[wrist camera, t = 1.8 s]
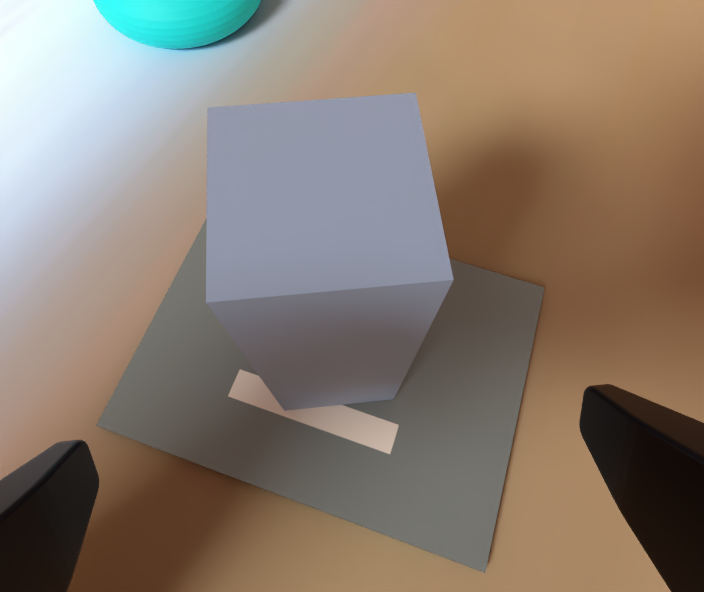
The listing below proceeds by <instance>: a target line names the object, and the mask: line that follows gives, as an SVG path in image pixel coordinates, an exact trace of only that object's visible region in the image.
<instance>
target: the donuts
mask: <svg viewBox="0 0 704 592" xmlns="http://www.w3.org/2000/svg"><path fill="white" fill-rule="evenodd" d="M93 1H94V3H95V5H96V6H97V8H98V10H99V12H100V13H101V14H102V16H103V17H104V18H105V19H106V20H107V21H108V22H109V24H110V25H112V26H113V27H114V28H115V29H116V30H118V31H119V32H121V33H122V34H124V35H125V36H127V37H129V38H131V39H133V40H135V41H137V42H140V43H143V44H146V45H150V46H154V47H160V48H169V49H183V48H193V47H199V46H203V45H207V44H210V43H213V42H216V41H218V40H221V39H223V38H225V37H227V36H228V35H230V34H232V33H233V32H235V31H236V30H238V29H239V28H240V27H241V26H243V25H244V24H245V23H246V22H247V21H248V20H249V19H250V18H251V17H252V15H253V14H254V13H255V11H256V10H257V8H258V6H259V4H260V2H261V0H93Z"/></svg>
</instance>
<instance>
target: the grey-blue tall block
mask: <svg viewBox="0 0 704 592" xmlns="http://www.w3.org/2000/svg"><path fill="white" fill-rule="evenodd" d="M453 280H454V279H453V274H452V269H451V265H450V260H449V255H448V250H447V245H446V240H445V235H444V230H443V225H442V220H441V215H440V210H439V205H438V200H437V195H436V191H435V186H434V181H433V176H432V171H431V166H430V161H429V156H428V151H427V146H426V141H425V136H424V131H423V126H422V121H421V117H420V112H419V107H418V102H417V97H416V93H406V94H392V95H378V96H364V97H350V98H336V99H322V100H308V101H294V102H280V103H266V104H252V105H238V106H224V107H210V108H208V124H207V233H206V304H207V305H208V306H209V308H210V309H211V310H212V312H213V313H214V315H215V316H216V317H217V319H218V320H219V321H220V323H221V324H222V326H223V327H224V328H225V330H226V331H227V333H228V334H229V335H230V337H231V338H232V339H233V341H234V342H235V344H236V345H237V346H238V348H239V349H240V350H241V352H242V353H243V355H244V356H245V357H246V359H247V360H248V361H249V363H250V364H251V366H252V367H253V368H254V370H255V371H256V373H257V374H258V375H259V377H260V378H261V379H262V381H263V382H264V384H265V385H266V386H267V388H268V389H269V390H270V392H271V393H272V395H273V396H274V397H275V399H276V400H277V401H278V403H279V404H280V406H281V407H282V408H283V410H284V411H287V410H297V409H306V408H316V407H325V406H335V405H344V404H354V403H364V402H373V401H383V400H392V399H394V397H395V395H396V393H397V391H398V390H399V388H400V386H401V384H402V382H403V380H404V378H405V376H406V374H407V372H408V370H409V368H410V366H411V364H412V362H413V360H414V358H415V356H416V354H417V352H418V350H419V348H420V346H421V344H422V342H423V340H424V338H425V336H426V334H427V332H428V330H429V328H430V326H431V324H432V322H433V320H434V318H435V316H436V314H437V312H438V310H439V308H440V306H441V304H442V302H443V300H444V298H445V296H446V294H447V292H448V290H449V288H450V286H451V284H452V282H453Z"/></svg>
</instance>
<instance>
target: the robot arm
mask: <svg viewBox="0 0 704 592" xmlns="http://www.w3.org/2000/svg"><path fill="white" fill-rule="evenodd" d="M580 431H581V434H582V437H583V439H584V441H585V443H586V445H587V447H588V449H589V451H590V453H591V455H592V457H593V459H594V461H595V463H596V465H597V467H598V469H599V471H600V473H601V475H602V477H603V479H604V481H605V483H606V485H607V487H608V489H609V491H610V493H611V495H612V497H613V499H614V500H615V502H616V504H617V506H618V508H619V510H620V511H621V513H622V515H623V516H624V518H625V520H626V521H627V523H628V525H629V526H630V528H631V529H632V531H633V532H634V534H635V536H636V537H637V539H638V540H639V542H640V543H641V545H642V547H643V548H644V550H645V551H646V553H647V554H648V556H649V558H650V559H651V561H652V562H653V564H654V565H655V567H656V569H657V570H658V572H659V573H660V575H661V576H662V578H663V580H664V581H665V583H666V584H667V586H668V587H669V589H670V591H671V592H704V423H702V422H700V421H697V420H695V419H693V418H690V417H688V416H685V415H683V414H681V413H678V412H676V411H673V410H671V409H669V408H666V407H664V406H661V405H659V404H657V403H654V402H652V401H649V400H647V399H645V398H642V397H640V396H637V395H635V394H633V393H630V392H628V391H625V390H623V389H620V388H618V387H616V386H613V385H610V384H604V385H594V386H589V387H587V388H586V389H585V391H584V395H583V402H582V409H581V416H580ZM98 488H99V477H98V473H97V470H96V467H95V464H94V461H93V459H92V456H91V453H90V450H89V447H88V445H87V444H86V442H85V441H82V440H72V441H63V442H58V443H56V444H54V445H53V446H51V447H50V448H48V449H47V450H45V451H44V452H42V453H41V454H39V455H38V456H36V457H35V458H33V459H32V460H30V461H29V462H27V463H26V464H24V465H22V466H21V467H19V468H18V469H16V470H15V471H13V472H12V473H10V474H9V475H7V476H6V477H4V478H3V479H1V480H0V592H67V590H68V587H69V585H70V582H71V579H72V577H73V574H74V571H75V567H76V564H77V561H78V558H79V554H80V551H81V547H82V544H83V541H84V537H85V534H86V530H87V527H88V523H89V520H90V516H91V513H92V509H93V506H94V503H95V499H96V496H97V492H98Z"/></svg>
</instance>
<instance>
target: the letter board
mask: <svg viewBox="0 0 704 592" xmlns="http://www.w3.org/2000/svg"><path fill="white" fill-rule="evenodd" d="M206 233H207V218H206V220H205V222H204V224H203V226H202V228H201V230H200V231H199V233H198V235H197V237H196V239H195V241H194V243H193V245H192V246H191V248H190V250H189V252H188V254H187V256H186V258H185V260H184V261H183V263H182V265H181V267H180V269H179V271H178V273H177V275H176V276H175V278H174V280H173V282H172V284H171V286H170V288H169V290H168V292H167V293H166V295H165V297H164V299H163V301H162V303H161V305H160V307H159V308H158V310H157V312H156V314H155V316H154V318H153V320H152V322H151V323H150V325H149V327H148V329H147V331H146V333H145V335H144V337H143V338H142V340H141V342H140V344H139V346H138V348H137V350H136V352H135V353H134V355H133V357H132V359H131V361H130V363H129V365H128V367H127V368H126V370H125V372H124V374H123V376H122V378H121V380H120V382H119V384H118V385H117V387H116V389H115V391H114V393H113V395H112V397H111V399H110V400H109V402H108V404H107V406H106V408H105V410H104V412H103V414H102V415H101V417H100V419H99V421H98V423H97V425H96V426H98V427H101V428H104V429H106V430H109V431H112V432H114V433H117V434H119V435H122V436H125V437H127V438H130V439H133V440H135V441H138V442H141V443H143V444H146V445H149V446H151V447H154V448H156V449H159V450H162V451H164V452H167V453H170V454H172V455H175V456H178V457H180V458H183V459H186V460H188V461H191V462H193V463H196V464H199V465H201V466H204V467H207V468H209V469H212V470H215V471H217V472H220V473H223V474H225V475H228V476H230V477H233V478H236V479H238V480H241V481H244V482H246V483H249V484H252V485H254V486H257V487H260V488H262V489H265V490H267V491H270V492H273V493H275V494H278V495H281V496H283V497H286V498H289V499H291V500H294V501H297V502H299V503H302V504H304V505H307V506H310V507H312V508H315V509H318V510H320V511H323V512H326V513H328V514H331V515H334V516H336V517H339V518H341V519H344V520H347V521H349V522H352V523H355V524H357V525H360V526H363V527H365V528H368V529H371V530H373V531H376V532H378V533H381V534H384V535H386V536H389V537H392V538H394V539H397V540H400V541H402V542H405V543H408V544H410V545H413V546H415V547H418V548H421V549H423V550H426V551H429V552H431V553H434V554H437V555H439V556H442V557H445V558H447V559H450V560H452V561H455V562H458V563H460V564H463V565H466V566H468V567H471V568H474V569H476V570H479V571H482V572H484V573H485V572H486V567H487V562H488V557H489V552H490V548H491V543H492V538H493V533H494V528H495V524H496V519H497V514H498V509H499V504H500V500H501V495H502V490H503V485H504V480H505V476H506V471H507V466H508V461H509V456H510V452H511V447H512V442H513V437H514V432H515V428H516V423H517V418H518V413H519V408H520V404H521V399H522V394H523V389H524V384H525V380H526V375H527V370H528V365H529V360H530V356H531V351H532V346H533V341H534V336H535V332H536V327H537V322H538V317H539V312H540V308H541V303H542V298H543V293H544V288H545V287H542V286H538V285H535V284H532V283H529V282H525V281H522V280H519V279H516V278H512V277H509V276H506V275H503V274H499V273H496V272H493V271H489V270H486V269H483V268H480V267H476V266H473V265H470V264H467V263H463V262H460V261H457V260H454V259H450V258H449V260H450V265H451V269H452V274H453V279H454V280H453V282H452V284H451V286H450V288H449V290H448V292H447V294H446V296H445V298H444V300H443V302H442V304H441V306H440V308H439V310H438V312H437V314H436V316H435V318H434V320H433V322H432V324H431V326H430V328H429V330H428V332H427V334H426V336H425V338H424V340H423V342H422V344H421V346H420V348H419V350H418V352H417V354H416V356H415V358H414V360H413V362H412V364H411V366H410V368H409V370H408V372H407V374H406V376H405V378H404V380H403V382H402V384H401V386H400V388H399V390H398V391H397V393H396V395H395V397H394V399H392V400H383V401H373V402H364V403H354V404H344V405H335V406H325V407H316V408H306V409H297V410H287V411H284V410H283V408H282V407H281V406H280V404H279V403H278V401H277V400H276V399H275V397H274V396H273V395H272V393H271V392H270V390H269V389H268V388H267V386H266V385H265V384H264V382H263V381H262V379H261V378H260V377H259V375H258V374H257V373H256V371H255V370H254V368H253V367H252V366H251V364H250V363H249V361H248V360H247V359H246V357H245V356H244V355H243V353H242V352H241V350H240V349H239V348H238V346H237V345H236V344H235V342H234V341H233V339H232V338H231V337H230V335H229V334H228V333H227V331H226V330H225V328H224V327H223V326H222V324H221V323H220V321H219V320H218V319H217V317H216V316H215V315H214V313H213V312H212V310H211V309H210V308H209V306H208V305H207V304H206Z"/></svg>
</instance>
